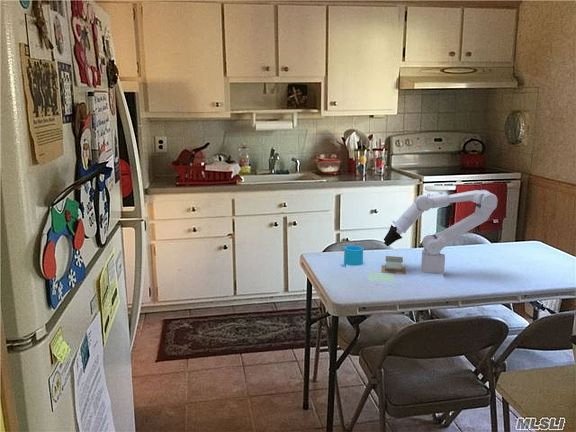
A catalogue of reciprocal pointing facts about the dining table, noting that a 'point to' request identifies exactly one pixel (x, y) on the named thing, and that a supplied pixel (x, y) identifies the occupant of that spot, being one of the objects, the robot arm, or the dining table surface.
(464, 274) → the dining table surface
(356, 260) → the mug
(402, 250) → the dining table surface
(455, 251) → the dining table surface
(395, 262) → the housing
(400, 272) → the stand
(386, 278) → the stand
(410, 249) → the dining table surface
